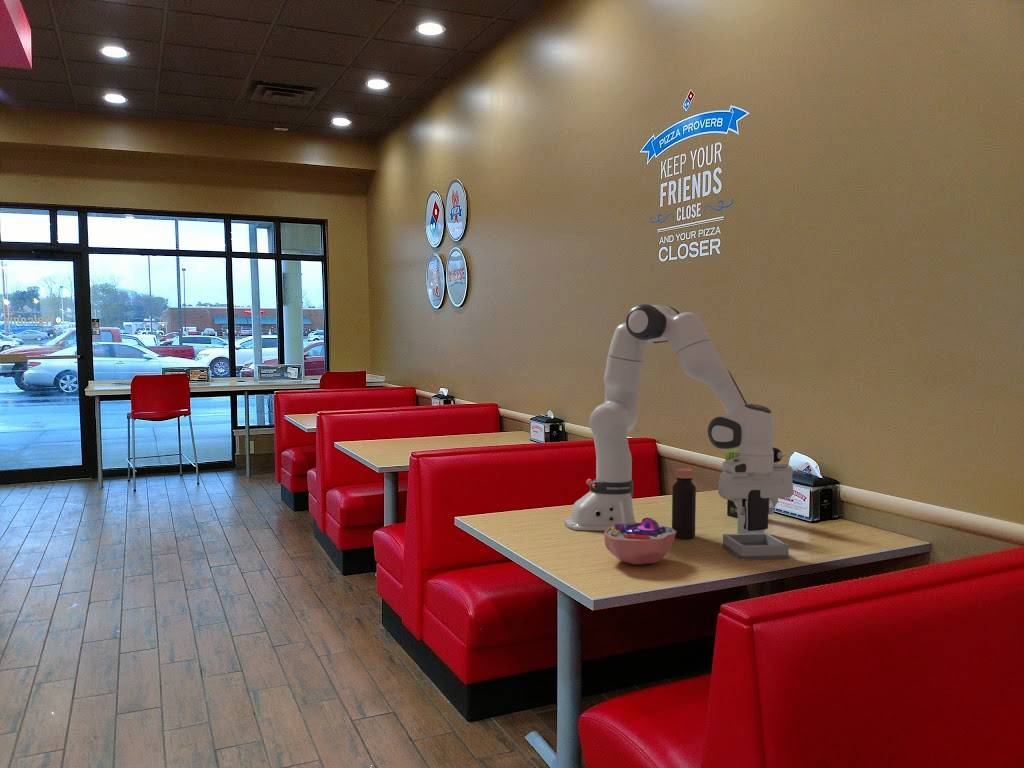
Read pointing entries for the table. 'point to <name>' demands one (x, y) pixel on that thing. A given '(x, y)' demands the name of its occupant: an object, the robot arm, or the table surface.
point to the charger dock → (755, 546)
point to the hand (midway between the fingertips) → (755, 514)
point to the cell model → (639, 541)
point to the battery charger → (755, 511)
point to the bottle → (684, 504)
